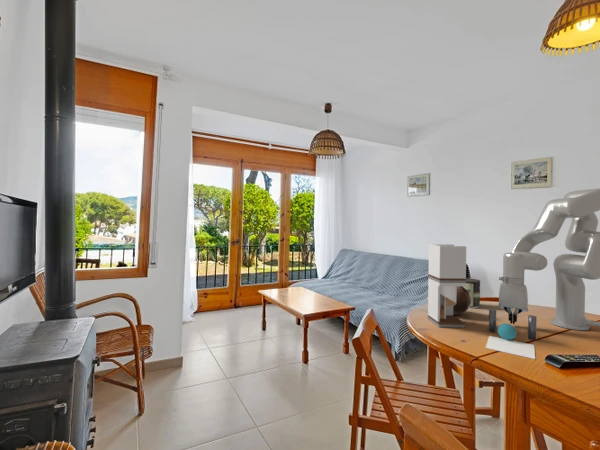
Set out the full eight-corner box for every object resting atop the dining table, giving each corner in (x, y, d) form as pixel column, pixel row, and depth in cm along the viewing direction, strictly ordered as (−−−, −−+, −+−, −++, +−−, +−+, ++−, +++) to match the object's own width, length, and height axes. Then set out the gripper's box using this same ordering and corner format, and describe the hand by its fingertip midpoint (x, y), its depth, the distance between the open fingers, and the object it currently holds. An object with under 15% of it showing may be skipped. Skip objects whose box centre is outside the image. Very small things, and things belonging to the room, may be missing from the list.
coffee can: (475, 303, 165) (476, 278, 165) (483, 308, 155) (483, 282, 155) (455, 302, 167) (456, 277, 167) (461, 307, 157) (462, 281, 157)
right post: (536, 339, 115) (536, 316, 115) (536, 341, 113) (536, 317, 113) (527, 337, 117) (528, 314, 116) (528, 339, 115) (528, 316, 114)
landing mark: (534, 345, 109) (534, 344, 109) (535, 359, 98) (535, 358, 98) (489, 336, 117) (489, 335, 117) (485, 348, 106) (485, 347, 106)
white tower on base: (438, 327, 127) (440, 246, 127) (427, 319, 138) (428, 244, 137) (465, 327, 127) (466, 246, 127) (452, 319, 138) (453, 244, 137)
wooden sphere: (429, 311, 150) (430, 281, 150) (450, 308, 156) (451, 279, 156) (455, 320, 136) (456, 288, 136) (477, 316, 142) (478, 285, 142)
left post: (496, 331, 123) (496, 309, 123) (495, 333, 121) (496, 311, 121) (489, 329, 124) (489, 308, 124) (488, 331, 122) (488, 310, 122)
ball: (517, 328, 116) (515, 322, 112) (517, 343, 113) (516, 338, 109) (498, 325, 120) (497, 320, 116) (498, 340, 117) (496, 335, 113)
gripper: (492, 280, 130) (491, 321, 131) (535, 284, 121) (534, 329, 122) (493, 277, 136) (493, 317, 137) (534, 282, 127) (534, 324, 127)
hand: (512, 322), depth 129 cm, fingers closed
